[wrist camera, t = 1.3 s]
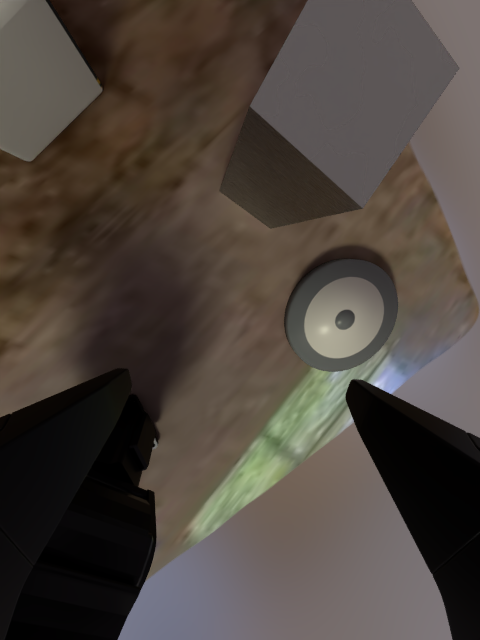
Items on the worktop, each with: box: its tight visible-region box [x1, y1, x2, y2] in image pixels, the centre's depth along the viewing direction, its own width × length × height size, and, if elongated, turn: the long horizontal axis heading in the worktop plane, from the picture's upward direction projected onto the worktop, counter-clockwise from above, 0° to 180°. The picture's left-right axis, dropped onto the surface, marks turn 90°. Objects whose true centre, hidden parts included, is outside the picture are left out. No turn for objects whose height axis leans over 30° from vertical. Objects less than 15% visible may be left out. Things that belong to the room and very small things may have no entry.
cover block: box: [220, 0, 459, 229], centre depth 13 cm, size 5×5×12 cm
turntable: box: [284, 259, 398, 372], centre depth 23 cm, size 11×11×1 cm
